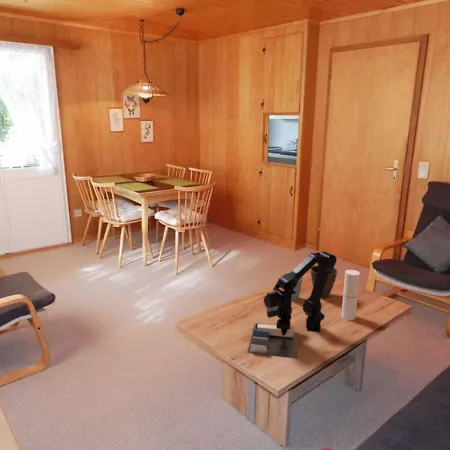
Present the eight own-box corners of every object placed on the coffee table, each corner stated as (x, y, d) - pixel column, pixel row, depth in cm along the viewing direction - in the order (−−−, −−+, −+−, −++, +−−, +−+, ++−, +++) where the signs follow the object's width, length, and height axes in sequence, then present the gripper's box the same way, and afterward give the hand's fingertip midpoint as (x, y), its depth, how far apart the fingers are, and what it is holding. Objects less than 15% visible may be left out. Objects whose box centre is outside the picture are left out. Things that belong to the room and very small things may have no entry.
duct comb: (298, 333, 199) (299, 326, 198) (297, 359, 178) (297, 351, 177) (253, 329, 203) (253, 321, 202) (246, 353, 183) (247, 345, 182)
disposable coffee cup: (301, 303, 231) (302, 278, 227) (282, 301, 233) (283, 277, 229) (301, 295, 241) (303, 271, 237) (283, 293, 243) (284, 270, 239)
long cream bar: (293, 333, 197) (293, 326, 196) (293, 337, 193) (293, 330, 192) (258, 330, 200) (258, 323, 199) (257, 333, 197) (257, 327, 196)
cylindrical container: (340, 318, 215) (343, 273, 208) (343, 312, 221) (346, 268, 214) (354, 321, 211) (358, 276, 205) (356, 315, 217) (361, 271, 211)
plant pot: (316, 287, 251) (318, 263, 247) (339, 294, 242) (341, 269, 238) (304, 296, 240) (306, 270, 236) (328, 303, 231) (330, 276, 227)
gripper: (269, 293, 202) (268, 321, 206) (265, 310, 184) (264, 341, 188) (292, 295, 200) (291, 324, 204) (290, 313, 182) (289, 344, 186)
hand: (283, 333), depth 196 cm, fingers open, 4 cm apart
